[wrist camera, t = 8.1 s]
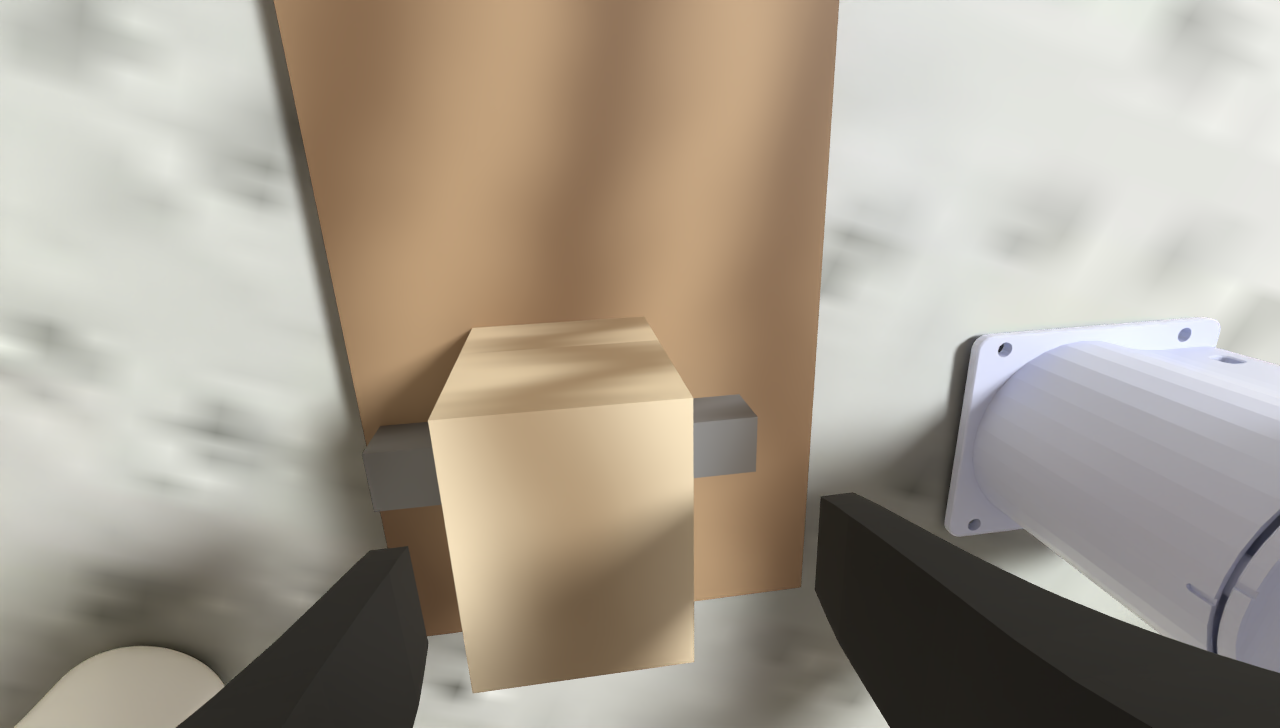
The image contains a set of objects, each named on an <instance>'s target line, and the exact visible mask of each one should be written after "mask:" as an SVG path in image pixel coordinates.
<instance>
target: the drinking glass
mask: <svg viewBox="0 0 1280 728" xmlns="http://www.w3.org/2000/svg"><path fill="white" fill-rule="evenodd" d="M224 687H225V686H224V684H223V682H222V681H221V679H220V678H219V677H218V676H217V675H216V673H215V672H213V671H212V670H211V669H210V668H209V667H208V666H206V665H205V664H204V663H202V662H200V661H199V660H197V659H195V658H193V657H191V656H189V655H187V654H184V653H181V652H179V651H175V650H172V649H167V648H162V647H155V646H130V647H122V648H117V649H113V650H109V651H106V652H103V653H100V654H97V655H95V656H93V657H91V658H89V659H87V660H85V661H83V662H82V663H80V664H78V665H77V666H75V667H74V668H73V669H71V670H70V671H69V672H68V673H67V674H65V675H64V676H63V677H62V678H61V679H60V680H59V681H58V682H57V683H56V684H55V685H54V686H53V687H52V688H51V689H50V690H49V692H48V693H47V694H46V695H45V696H44V697H43V698H42V699H41V700H40V701H39V702H38V703H37V704H36V705H35V706H34V707H33V708H32V709H31V710H30V711H29V713H28V714H27V715H26V716H25V717H24V718H23V719H22V720H21V721H19V722H18V723H17V724H16V725H15V726H14V727H13V728H176V727H177V726H178V725H179V724H181V723H182V722H183V721H184V720H185V719H187V718H188V717H189V716H190V715H192V714H193V713H194V712H195V711H197V710H198V709H199V708H200V707H201V706H203V705H204V704H205V703H206V702H207V701H209V700H210V699H211V698H212V697H213V696H215V695H216V694H217V693H218V692H219V691H220V690H221V689H222V688H224Z"/></svg>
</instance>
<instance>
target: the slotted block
mask: <svg viewBox="0 0 1280 728" xmlns="http://www.w3.org/2000/svg"><path fill="white" fill-rule="evenodd" d="M428 424H429V430H430V436H431V442H432V448H433V455H434V461H435V467H436V473H437V479H438V485H439V491H440V497H441V503H442V509H443V515H444V521H445V528H446V534H447V540H448V546H449V552H450V558H451V564H452V570H453V576H454V582H455V588H456V594H457V601H458V607H459V613H460V619H461V625H462V631H463V637H464V643H465V649H466V655H467V661H468V667H469V674H470V680H471V686H472V692H473V693H479V692H486V691H493V690H500V689H507V688H514V687H521V686H528V685H535V684H542V683H549V682H556V681H564V680H571V679H578V678H585V677H592V676H599V675H606V674H613V673H620V672H627V671H634V670H641V669H648V668H655V667H662V666H669V665H676V664H684V663H691V662H694V474H693V397H692V395H691V393H690V392H689V390H688V388H687V387H686V385H685V383H684V382H683V380H682V378H681V377H680V375H679V373H678V372H677V370H676V368H675V367H674V365H673V364H672V362H671V360H670V359H669V357H668V355H667V354H666V352H665V350H664V349H663V347H662V345H661V344H660V342H659V340H658V339H657V337H656V335H655V334H654V332H653V330H652V329H651V327H650V325H649V324H648V322H647V320H646V319H645V317H629V318H614V319H599V320H584V321H570V322H555V323H540V324H525V325H510V326H496V327H481V328H472V330H471V332H470V334H469V336H468V338H467V340H466V342H465V344H464V346H463V348H462V350H461V353H460V355H459V357H458V359H457V361H456V363H455V365H454V367H453V369H452V371H451V373H450V375H449V378H448V380H447V382H446V384H445V386H444V388H443V390H442V392H441V394H440V396H439V398H438V401H437V403H436V405H435V407H434V409H433V411H432V413H431V415H430V417H429V419H428Z"/></svg>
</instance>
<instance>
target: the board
mask: <svg viewBox="0 0 1280 728" xmlns="http://www.w3.org/2000/svg"><path fill="white" fill-rule="evenodd" d="M274 5H275V10H276V15H277V19H278V24H279V29H280V34H281V39H282V43H283V48H284V53H285V58H286V63H287V67H288V72H289V77H290V82H291V87H292V91H293V96H294V101H295V106H296V110H297V115H298V120H299V125H300V130H301V134H302V139H303V144H304V149H305V154H306V158H307V163H308V168H309V173H310V178H311V182H312V187H313V192H314V197H315V202H316V206H317V211H318V216H319V221H320V226H321V230H322V235H323V240H324V245H325V250H326V254H327V259H328V264H329V269H330V274H331V278H332V283H333V288H334V293H335V298H336V302H337V307H338V312H339V317H340V322H341V326H342V331H343V336H344V341H345V346H346V350H347V355H348V360H349V365H350V370H351V374H352V379H353V384H354V389H355V394H356V398H357V403H358V408H359V413H360V418H361V422H362V427H363V432H364V437H365V442H366V446H367V447H366V449H365V450H364V452H363V453H362V456H363V461H364V466H365V471H366V475H367V480H368V485H369V489H370V494H371V499H372V504H373V508H374V512H378V511H380V514H381V518H382V523H383V528H384V533H385V538H386V542H387V547H388V548H396V547H404V546H408V547H409V552H410V557H411V562H412V567H413V572H414V576H415V581H416V586H417V591H418V596H419V601H420V605H421V610H422V615H423V620H424V625H425V629H426V634H427V636H433V635H441V634H448V633H456V632H463V631H462V625H461V619H460V613H459V607H458V601H457V594H456V588H455V582H454V576H453V570H452V564H451V558H450V552H449V546H448V540H447V534H446V528H445V521H444V515H443V509H442V503H441V497H440V491H439V485H438V479H437V473H436V467H435V461H434V455H433V448H432V442H431V436H430V430H429V424H428V419H429V417H430V415H431V413H432V411H433V409H434V407H435V405H436V403H437V401H438V398H439V396H440V394H441V392H442V390H443V388H444V386H445V384H446V382H447V380H448V378H449V375H450V373H451V371H452V369H453V367H454V365H455V363H456V361H457V359H458V357H459V355H460V353H461V350H462V348H463V346H464V344H465V342H466V340H467V338H468V336H469V334H470V332H471V330H472V328H481V327H496V326H510V325H525V324H540V323H555V322H570V321H584V320H599V319H614V318H629V317H645V319H646V320H647V322H648V324H649V325H650V327H651V329H652V330H653V332H654V334H655V335H656V337H657V339H658V340H659V342H660V344H661V345H662V347H663V349H664V350H665V352H666V354H667V355H668V357H669V359H670V360H671V362H672V364H673V365H674V367H675V368H676V370H677V372H678V373H679V375H680V377H681V378H682V380H683V382H684V383H685V385H686V387H687V388H688V390H689V392H690V393H691V395H692V397H693V474H694V601H700V600H708V599H715V598H723V597H730V596H738V595H746V594H753V593H761V592H768V591H776V590H784V589H791V588H799V587H801V577H802V562H803V546H804V531H805V516H806V500H807V485H808V470H809V454H810V439H811V424H812V408H813V393H814V378H815V362H816V347H817V332H818V316H819V301H820V286H821V271H822V255H823V240H824V225H825V209H826V194H827V179H828V163H829V148H830V133H831V117H832V102H833V87H834V71H835V56H836V41H837V25H838V10H839V0H274Z"/></svg>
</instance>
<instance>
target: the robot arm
mask: <svg viewBox="0 0 1280 728" xmlns="http://www.w3.org/2000/svg"><path fill="white" fill-rule="evenodd" d="M1220 328H1221V327H1220V324H1219V322H1218V321H1217V320H1216V319H1211V318H1207V317H1195V318H1182V319H1170V320H1157V321H1145V322H1132V323H1120V324H1107V325H1095V326H1082V327H1070V328H1057V329H1045V330H1032V331H1020V332H1007V333H994V334H986V335H982V336H980V337H979V338H977V339H976V341H975V342H974V343H973V346H972V349H971V355H970V361H969V368H968V374H967V381H966V387H965V393H964V400H963V406H962V413H961V419H960V426H959V432H958V438H957V445H956V451H955V458H954V464H953V471H952V477H951V483H950V490H949V496H948V503H947V509H946V516H945V522H944V524H945V528H946V530H947V531H948V532H950V533H951V534H952V535H954V536H957V537H961V536H969V535H977V534H985V533H993V532H1001V531H1009V530H1017V529H1025V530H1026V531H1028V532H1029V533H1030V534H1032V535H1033V536H1034V537H1035V538H1037V539H1038V540H1039V541H1041V542H1042V543H1043V544H1044V545H1046V546H1047V547H1048V548H1050V549H1051V550H1052V551H1054V552H1055V553H1056V554H1057V555H1059V556H1060V557H1061V558H1063V559H1064V560H1065V561H1066V562H1068V563H1069V564H1070V565H1072V566H1073V567H1074V568H1075V569H1077V570H1078V571H1079V572H1081V573H1082V574H1083V575H1085V576H1086V577H1087V578H1088V579H1090V580H1091V581H1092V582H1094V583H1095V584H1096V585H1097V586H1099V587H1100V588H1101V589H1103V590H1104V591H1105V592H1107V593H1108V594H1109V595H1110V596H1112V597H1113V598H1114V599H1116V600H1117V601H1118V602H1119V603H1121V604H1122V605H1123V606H1125V607H1126V608H1127V609H1128V610H1130V611H1131V612H1132V613H1134V614H1135V615H1136V616H1138V617H1139V618H1140V619H1141V620H1143V621H1144V622H1145V623H1147V624H1148V625H1149V626H1150V627H1152V628H1153V629H1154V630H1156V631H1157V632H1158V633H1159V634H1161V635H1159V634H1156V633H1153V632H1150V631H1148V630H1145V629H1142V628H1140V627H1137V626H1134V625H1131V624H1129V623H1126V622H1123V621H1121V620H1118V619H1115V618H1113V617H1110V616H1108V615H1105V614H1103V613H1100V612H1098V611H1095V610H1093V609H1091V608H1088V607H1086V606H1083V605H1081V604H1078V603H1076V602H1073V601H1071V600H1068V599H1066V598H1063V597H1061V596H1059V595H1056V594H1054V593H1052V592H1050V591H1047V590H1045V589H1043V588H1040V587H1038V586H1036V585H1034V584H1032V583H1030V582H1027V581H1025V580H1023V579H1021V578H1019V577H1017V576H1015V575H1013V574H1011V573H1008V572H1006V571H1004V570H1002V569H1000V568H998V567H996V566H994V565H992V564H990V563H988V562H986V561H984V560H982V559H980V558H978V557H976V556H974V555H972V554H970V553H968V552H966V551H964V550H962V549H960V548H958V547H956V546H954V545H952V544H951V543H949V542H947V541H945V540H943V539H941V538H939V537H937V536H935V535H934V534H932V533H930V532H928V531H926V530H924V529H922V528H921V527H919V526H917V525H915V524H913V523H911V522H909V521H908V520H906V519H904V518H902V517H900V516H898V515H897V514H895V513H893V512H891V511H889V510H887V509H885V508H883V507H881V506H880V505H878V504H876V503H874V502H872V501H870V500H868V499H866V498H864V497H861V496H859V495H857V494H855V493H846V494H838V495H829V496H821V501H820V517H819V533H818V548H817V564H816V580H815V591H816V593H817V596H818V598H819V600H820V603H821V605H822V607H823V610H824V612H825V614H826V617H827V619H828V621H829V623H830V625H831V627H832V630H833V632H834V634H835V636H836V638H837V640H838V642H839V644H840V646H841V647H842V649H843V651H844V653H845V654H846V656H847V658H848V659H849V661H850V663H851V664H852V666H853V668H854V669H855V671H856V673H857V674H858V676H859V678H860V679H861V681H862V683H863V684H864V686H865V687H866V689H867V691H868V692H869V694H870V696H871V697H872V699H873V700H874V702H875V704H876V705H877V707H878V709H879V710H880V712H881V714H882V715H883V717H884V718H885V720H886V722H887V723H888V725H889V727H890V728H1280V365H1277V364H1274V363H1270V362H1266V361H1263V360H1259V359H1256V358H1252V357H1248V356H1245V355H1241V354H1237V353H1234V352H1230V351H1227V350H1223V349H1219V348H1216V344H1217V340H1218V337H1219V333H1220ZM1003 343H1004V347H1003V349H1002V350H1001V351H1000V352H999V353H998V349H999V347H1000V346H1001V345H1002V344H1003ZM972 520H973V521H972ZM970 521H972V522H971V523H970V524H969V522H970ZM427 650H428V639H427V634H426V629H425V625H424V620H423V615H422V610H421V605H420V601H419V596H418V591H417V586H416V581H415V576H414V572H413V567H412V562H411V557H410V552H409V547H408V546H404V547H396V548H388V549H379V550H371V551H369V552H368V553H367V554H366V555H365V556H364V557H363V558H361V559H360V560H359V561H358V562H357V563H356V564H355V565H354V566H353V567H352V568H351V569H350V570H349V571H348V572H347V573H346V574H345V575H344V576H343V577H342V578H341V579H340V580H339V581H338V582H337V583H336V584H335V585H334V586H333V587H332V588H331V589H330V590H329V591H328V592H327V593H325V594H324V595H323V596H322V597H321V598H320V599H319V600H318V601H317V602H316V603H315V604H314V605H313V606H312V607H311V608H310V609H309V610H308V611H307V612H306V613H305V614H304V615H303V616H302V617H301V618H300V619H299V620H297V621H296V622H295V623H294V624H293V625H292V626H291V627H290V628H289V629H288V630H287V631H286V632H285V633H284V634H283V635H282V636H281V637H280V638H279V639H278V640H276V641H275V642H274V643H273V644H272V645H271V646H270V647H269V648H268V649H266V650H265V651H264V652H263V653H262V654H261V655H260V656H259V657H257V658H256V659H255V660H254V661H253V662H252V663H251V664H249V665H248V666H247V667H246V668H245V669H244V670H243V671H242V672H240V673H239V674H238V675H237V676H236V677H235V678H234V679H233V680H231V681H230V682H229V683H228V684H227V685H226V686H225V687H224V688H222V689H221V690H220V691H219V692H218V693H217V694H216V695H215V696H213V697H212V698H211V699H210V700H209V701H207V702H206V703H205V704H204V705H203V706H201V707H200V708H199V709H198V710H197V711H195V712H194V713H193V714H192V715H190V716H189V717H188V718H187V719H185V720H184V721H183V722H182V723H181V724H179V725H178V726H177V727H176V728H413V725H414V721H415V717H416V714H417V710H418V706H419V701H420V695H421V689H422V683H423V677H424V670H425V663H426V656H427Z"/></svg>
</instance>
